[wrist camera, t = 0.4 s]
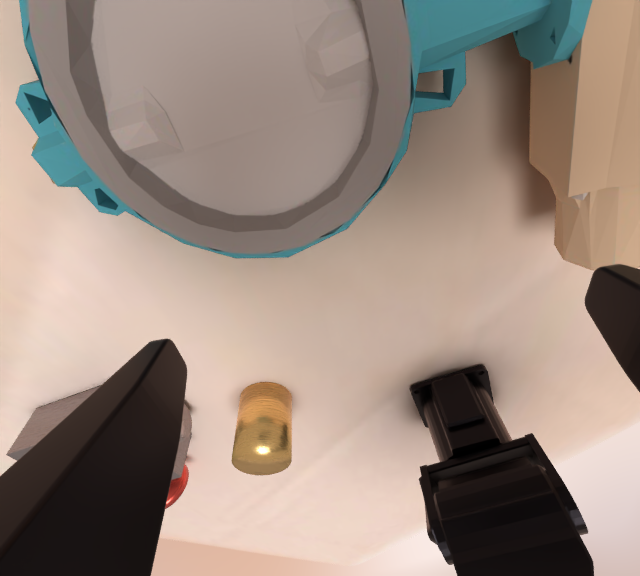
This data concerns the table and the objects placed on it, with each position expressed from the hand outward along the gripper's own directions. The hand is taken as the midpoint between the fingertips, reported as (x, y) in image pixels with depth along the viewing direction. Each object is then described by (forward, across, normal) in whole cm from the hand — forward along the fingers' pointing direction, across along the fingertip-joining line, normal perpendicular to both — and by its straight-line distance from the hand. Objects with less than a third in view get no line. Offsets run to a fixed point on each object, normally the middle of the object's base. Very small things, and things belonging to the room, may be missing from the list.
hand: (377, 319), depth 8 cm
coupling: (+14, +9, +20) cm, 26 cm away
